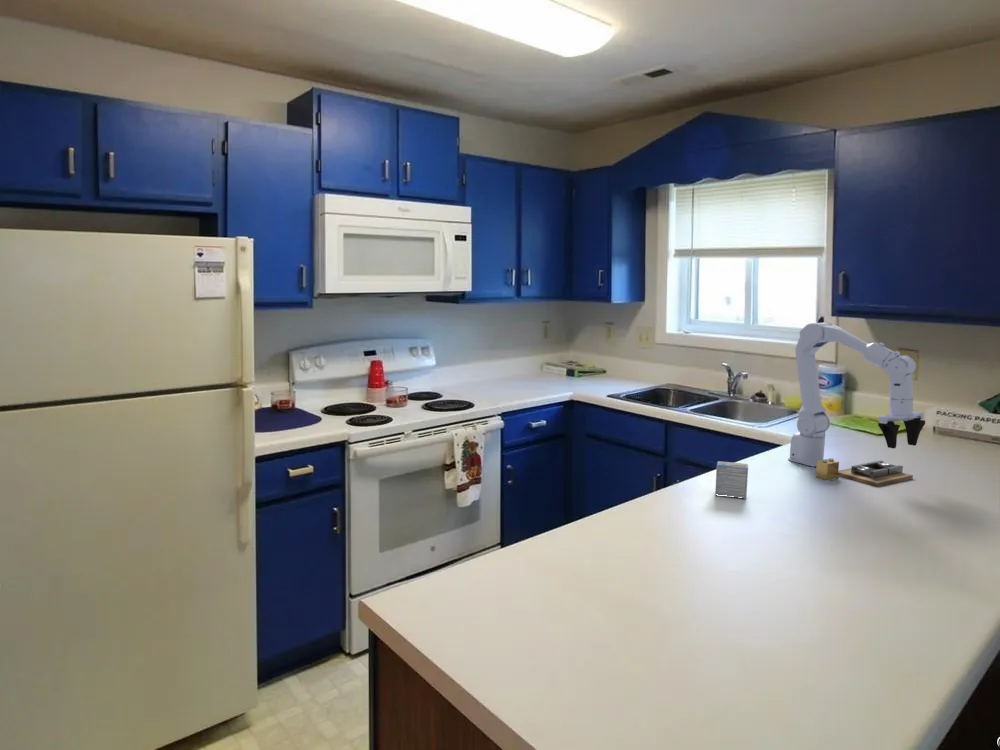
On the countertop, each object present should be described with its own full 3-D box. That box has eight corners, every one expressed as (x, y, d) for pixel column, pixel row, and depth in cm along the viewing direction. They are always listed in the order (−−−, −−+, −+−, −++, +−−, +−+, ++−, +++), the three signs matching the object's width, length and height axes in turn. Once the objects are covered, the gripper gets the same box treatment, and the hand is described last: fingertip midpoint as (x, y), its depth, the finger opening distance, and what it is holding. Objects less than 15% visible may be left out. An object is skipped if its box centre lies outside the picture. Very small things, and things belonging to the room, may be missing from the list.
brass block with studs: (815, 477, 200) (817, 459, 199) (826, 475, 202) (828, 457, 201) (826, 480, 197) (828, 461, 196) (837, 478, 199) (839, 459, 198)
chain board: (834, 474, 202) (834, 471, 202) (870, 467, 211) (870, 464, 210) (876, 486, 191) (877, 483, 191) (912, 478, 199) (912, 475, 199)
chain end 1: (851, 472, 201) (851, 466, 201) (865, 469, 204) (865, 463, 204) (873, 478, 195) (874, 472, 195) (887, 475, 198) (888, 469, 198)
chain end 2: (866, 469, 205) (866, 463, 204) (879, 466, 208) (880, 460, 207) (888, 475, 199) (889, 468, 198) (902, 472, 202) (902, 466, 201)
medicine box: (746, 495, 183) (748, 463, 182) (746, 500, 179) (748, 467, 177) (715, 491, 185) (717, 460, 184) (714, 496, 181) (716, 464, 180)
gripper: (893, 402, 187) (894, 451, 188) (933, 397, 192) (934, 445, 193) (872, 400, 194) (873, 447, 195) (911, 395, 198) (911, 442, 199)
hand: (901, 446), depth 194 cm, fingers open, 7 cm apart
